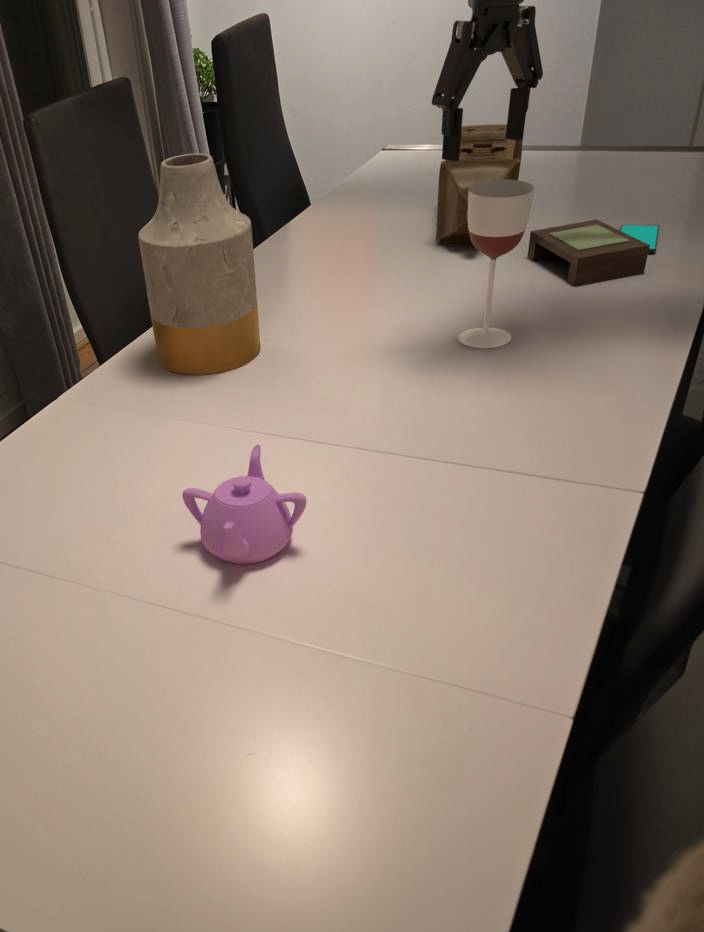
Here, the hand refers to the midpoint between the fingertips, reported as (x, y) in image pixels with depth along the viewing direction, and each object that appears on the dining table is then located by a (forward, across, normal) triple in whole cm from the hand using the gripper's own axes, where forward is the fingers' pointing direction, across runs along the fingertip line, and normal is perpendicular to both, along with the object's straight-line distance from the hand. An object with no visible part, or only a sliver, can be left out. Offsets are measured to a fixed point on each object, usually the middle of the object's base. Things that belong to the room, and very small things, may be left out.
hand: (482, 149), depth 125 cm
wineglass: (+28, -1, +4) cm, 28 cm away
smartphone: (+28, -55, -6) cm, 62 cm away
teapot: (+28, +64, +24) cm, 74 cm away
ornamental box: (+28, -41, -36) cm, 61 cm away
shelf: (+28, -38, -6) cm, 48 cm away
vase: (+28, +35, -28) cm, 53 cm away
